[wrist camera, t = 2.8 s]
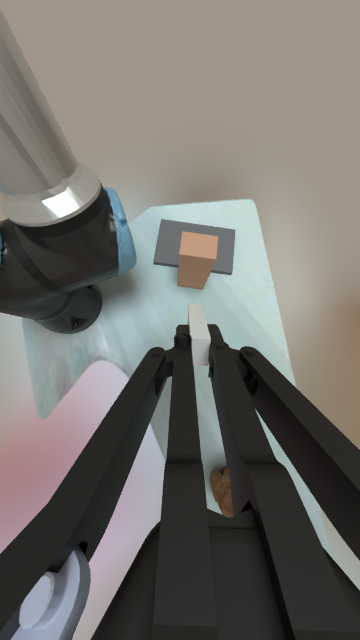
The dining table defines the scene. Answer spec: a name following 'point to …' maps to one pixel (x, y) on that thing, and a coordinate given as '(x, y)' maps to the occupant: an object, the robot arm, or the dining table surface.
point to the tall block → (196, 259)
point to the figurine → (222, 491)
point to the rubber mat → (173, 233)
